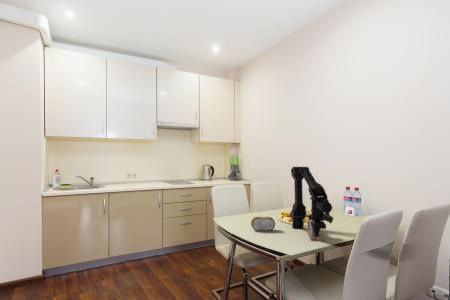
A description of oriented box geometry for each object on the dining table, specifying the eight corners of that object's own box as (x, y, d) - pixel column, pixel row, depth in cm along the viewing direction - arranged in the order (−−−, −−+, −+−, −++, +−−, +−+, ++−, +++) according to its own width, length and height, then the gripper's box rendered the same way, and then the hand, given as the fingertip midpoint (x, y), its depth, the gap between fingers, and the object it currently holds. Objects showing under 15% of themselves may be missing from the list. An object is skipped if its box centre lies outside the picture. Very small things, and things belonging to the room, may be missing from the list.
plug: (312, 236, 145) (312, 227, 145) (309, 229, 157) (309, 221, 157) (319, 236, 144) (319, 227, 144) (315, 230, 156) (315, 222, 156)
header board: (310, 240, 142) (310, 229, 142) (305, 229, 161) (305, 220, 161) (323, 241, 141) (323, 230, 141) (317, 230, 159) (317, 220, 159)
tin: (274, 229, 161) (274, 216, 161) (275, 231, 158) (275, 217, 158) (250, 229, 161) (251, 216, 161) (251, 231, 158) (251, 217, 158)
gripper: (336, 213, 132) (336, 243, 132) (328, 205, 150) (328, 231, 150) (314, 212, 134) (313, 242, 134) (308, 204, 152) (308, 230, 152)
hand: (316, 236), depth 142 cm, fingers closed
